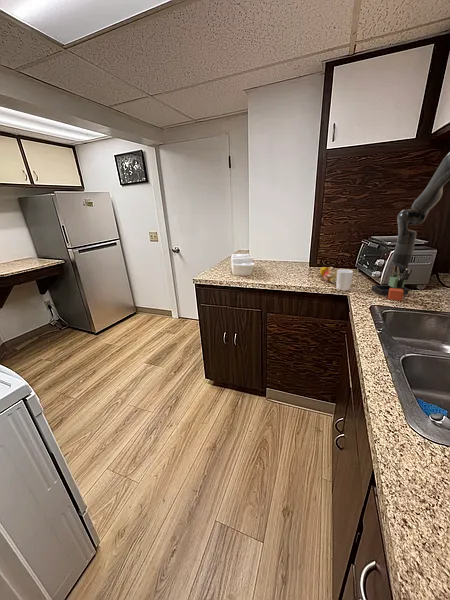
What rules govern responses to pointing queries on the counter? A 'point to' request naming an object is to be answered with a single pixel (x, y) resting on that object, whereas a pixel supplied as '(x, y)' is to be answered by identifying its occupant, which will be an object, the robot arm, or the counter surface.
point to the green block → (394, 282)
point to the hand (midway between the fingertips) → (395, 285)
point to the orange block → (395, 294)
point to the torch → (328, 274)
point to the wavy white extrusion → (242, 264)
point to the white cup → (344, 279)
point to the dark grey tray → (386, 289)
